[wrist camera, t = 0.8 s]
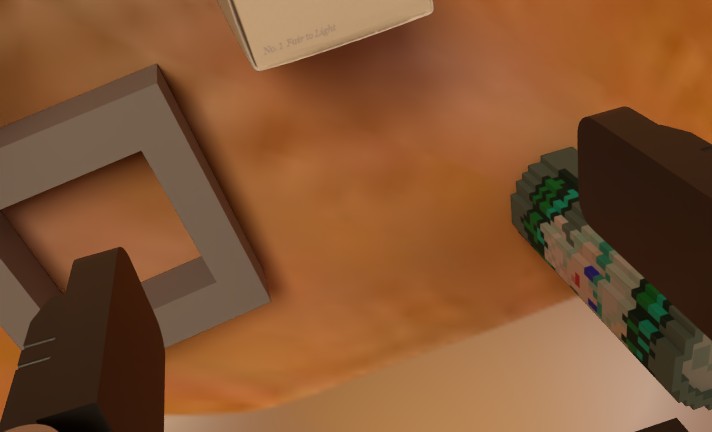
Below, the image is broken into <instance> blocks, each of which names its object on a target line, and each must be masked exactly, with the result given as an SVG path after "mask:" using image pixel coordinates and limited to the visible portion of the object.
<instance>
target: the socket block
mask: <svg viewBox="0 0 712 432" xmlns="http://www.w3.org/2000/svg"><path fill="white" fill-rule="evenodd" d="M139 151H142V153H143V154H144V156H145V158H146V160H147V161H148V163H149V165H150V167H151V168H152V170H153V172H154V174H155V175H156V177H157V179H158V181H159V182H160V184H161V186H162V188H163V189H164V191H165V193H166V195H167V196H168V198H169V200H170V202H171V203H172V205H173V207H174V209H175V210H176V212H177V214H178V216H179V217H180V219H181V221H182V223H183V224H184V226H185V228H186V230H187V231H188V233H189V235H190V237H191V238H192V240H193V242H194V244H195V245H196V247H197V249H198V251H199V252H200V254H201V257H199V258H197V259H194V260H192V261H190V262H187V263H185V264H183V265H180V266H178V267H176V268H174V269H171V270H169V271H167V272H164V273H162V274H160V275H157V276H155V277H153V278H150V279H148V280H146V281H143V282H141V285H142V287H143V289H144V291H145V293H146V296H147V298H148V300H149V302H150V305H151V307H152V309H153V311H154V314H155V316H156V318H157V321H158V323H159V326H160V330H161V333H162V337H163V342H164V348H166V347H169V346H171V345H173V344H176V343H178V342H180V341H182V340H185V339H187V338H189V337H192V336H194V335H196V334H198V333H201V332H203V331H205V330H208V329H210V328H212V327H215V326H217V325H219V324H221V323H224V322H226V321H228V320H231V319H233V318H235V317H237V316H240V315H242V314H244V313H247V312H249V311H251V310H253V309H256V308H258V307H260V306H263V305H265V304H267V303H269V302H271V298H270V295H269V291H268V287H267V283H266V279H265V275H264V271H263V269H262V267H261V265H260V263H259V261H258V259H257V258H256V256H255V254H254V252H253V250H252V248H251V246H250V244H249V242H248V240H247V238H246V236H245V234H244V232H243V230H242V228H241V226H240V224H239V223H238V221H237V219H236V217H235V215H234V213H233V211H232V209H231V207H230V205H229V203H228V201H227V199H226V197H225V195H224V193H223V191H222V190H221V188H220V186H219V184H218V182H217V180H216V178H215V176H214V174H213V172H212V170H211V168H210V166H209V164H208V162H207V160H206V158H205V156H204V155H203V153H202V151H201V149H200V147H199V145H198V143H197V141H196V139H195V137H194V135H193V133H192V131H191V129H190V127H189V125H188V123H187V122H186V120H185V118H184V116H183V114H182V112H181V110H180V108H179V106H178V104H177V102H176V100H175V98H174V96H173V94H172V92H171V90H170V89H169V87H168V85H167V83H166V81H165V79H164V77H163V75H162V73H161V71H160V69H159V67H158V65H157V64H154V65H152V66H149V67H147V68H145V69H142V70H140V71H137V72H135V73H133V74H130V75H128V76H125V77H123V78H120V79H118V80H116V81H113V82H111V83H108V84H106V85H103V86H101V87H99V88H96V89H94V90H91V91H89V92H86V93H84V94H82V95H79V96H77V97H74V98H72V99H69V100H67V101H65V102H62V103H60V104H57V105H55V106H52V107H50V108H48V109H45V110H43V111H40V112H38V113H35V114H33V115H31V116H28V117H26V118H23V119H21V120H18V121H16V122H14V123H11V124H9V125H6V126H4V127H2V128H0V210H1V209H3V208H5V207H8V206H10V205H13V204H15V203H17V202H20V201H22V200H25V199H27V198H29V197H32V196H34V195H36V194H39V193H41V192H44V191H46V190H48V189H51V188H53V187H56V186H58V185H60V184H63V183H65V182H67V181H70V180H72V179H75V178H77V177H79V176H82V175H84V174H87V173H89V172H91V171H94V170H96V169H98V168H101V167H103V166H106V165H108V164H110V163H113V162H115V161H118V160H120V159H122V158H125V157H127V156H129V155H132V154H134V153H137V152H139ZM59 295H62V293H61V291H60V290H59V289H58V287H57V286H56V285H55V283H54V282H53V281H52V279H51V278H50V277H49V275H48V274H47V273H46V271H45V270H44V269H43V267H42V266H41V265H40V263H39V262H38V261H37V259H36V258H35V257H34V255H33V254H32V253H31V251H30V250H29V249H28V247H27V246H26V245H25V243H24V242H23V241H22V239H21V238H20V237H19V235H18V234H17V233H16V231H15V230H14V229H13V227H12V226H11V225H10V223H9V222H8V221H7V219H6V218H5V217H4V215H3V214H2V213H1V211H0V326H1V327H2V328H3V329H4V330H5V331H6V333H7V334H8V335H9V336H10V337H11V339H12V340H13V341H14V342H15V343H16V344H17V346H18V347H19V348H20V349H21V350H24V346H23V345H24V341H25V338H26V335H27V331H28V328H29V325H30V322H31V321H32V319H33V318H34V317H35V316H36V314H37V313H38V312H39V311H40V309H41V308H42V307H43V306H44V304H45V303H46V302H47V301H48V299H49V298H52V297H55V296H59Z"/></svg>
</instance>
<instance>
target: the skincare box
mask: <svg viewBox="0 0 712 432" xmlns="http://www.w3.org/2000/svg"><path fill="white" fill-rule="evenodd" d="M217 2H218V3H219V5H220V7H221V9H222V11H223V13H224V15H225V17H226V20H227V22H228V23H229V25H230V27H231V29H232V31H233V33H234V35H235V37H236V39H237V41H238V43H239V44H240V46H241V48H242V50H243V52H244V54H245V55H246V57H247V59H248V60H249V62H250V64H251V66H252V67H253V69H254V70H256V71H262V70H266V69H270V68H274V67H277V66H280V65H284V64H287V63H291V62H294V61H297V60H300V59H304V58H307V57H310V56H313V55H316V54H319V53H322V52H325V51H329V50H332V49H335V48H338V47H341V46H343V45H346V44H349V43H352V42H355V41H358V40H361V39H363V38H367V37H369V36H372V35H375V34H378V33H381V32H384V31H387V30H389V29H392V28H394V27H397V26H400V25H403V24H406V23H408V22H412V21H414V20H417V19H419V18H422V17H424V16H427V15H430V14H431V13H432V12H433V10H434V6H433V0H217Z"/></svg>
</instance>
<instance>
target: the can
mask: <svg viewBox="0 0 712 432" xmlns="http://www.w3.org/2000/svg"><path fill="white" fill-rule="evenodd" d="M516 188H517V193H515V194H511V211H512V223H513V224H514V225H515V226H516V228H517V229H518V230H519V233H520V234H521V235H522V236H523V237H524V238H525V239H526V240H527V241H528V242H529V243H530V244H531V246H532V247H533V248H534V249H535V250H536V251H537V252H538V253H539V254H540V255H541V256H542V257H543V258H544V259H545V261H546V262H547V263H548V264H549V265H550V266H551V267H552V268H553V269H554V270H555V271H556V272H557V273H558V274H559V276H560V277H561V278H562V279H563V280H564V281H565V282H566V283H567V284H568V285H569V286H570V287H571V288H572V289H573V290H574V292H575V293H576V294H577V295H578V296H579V297H580V298H581V299H582V300H583V301H584V302H585V303H586V304H587V305H588V306H589V308H590V309H591V310H592V311H593V312H594V313H595V314H596V315H597V316H598V317H599V318H600V319H601V320H602V322H603V323H604V324H605V325H606V326H607V327H608V328H609V329H610V330H611V331H612V332H613V333H614V334H615V335H616V336H617V338H618V339H619V340H620V341H621V342H622V343H623V344H624V345H625V346H626V347H627V348H628V349H629V350H630V351H631V353H632V354H633V355H634V356H635V357H636V358H637V359H638V360H639V361H640V362H641V363H642V364H643V365H644V366H645V367H646V368H647V370H648V371H649V372H650V373H651V374H652V375H653V376H654V377H655V378H656V379H657V380H658V381H659V382H660V383H661V384H662V386H663V387H664V388H665V389H666V390H667V391H668V392H669V393H670V394H671V395H672V396H673V397H674V398H675V400H676V401H677V402H678V403H680V402H682V403H683V404H684V405H685V406H690V407H691V408H692V409H693V410H695V409H697V408H700V407H703V406H705V407H706V408H707V409H708V410H711V409H712V341H711V340H710V339H709V338H708V337H707V336H706V335H705V334H704V333H703V332H702V331H701V330H699V329H698V328H697V327H696V326H695V325H694V324H693V323H692V322H691V321H690V320H689V319H688V318H687V317H686V316H684V315H683V314H682V313H681V312H680V311H679V310H678V309H677V308H676V307H675V306H674V305H673V304H672V303H671V302H670V301H668V300H667V299H666V298H665V297H664V296H663V295H662V294H661V293H660V292H659V291H658V290H657V289H656V288H655V287H653V286H652V285H651V284H650V283H649V282H648V281H647V280H646V279H645V278H644V277H643V276H642V275H641V274H640V273H638V272H637V271H636V270H635V269H634V268H633V267H632V266H631V265H630V264H629V263H628V262H627V261H626V260H625V259H623V258H622V257H621V256H620V255H619V254H618V253H617V252H616V251H615V250H614V249H613V248H612V247H611V246H610V245H609V244H607V243H606V242H605V241H604V240H603V239H602V238H601V237H600V236H599V235H598V234H597V233H596V232H595V231H594V230H592V228H591V227H590V226H589V225H588V223H587V222H586V220H585V218H584V216H583V214H582V211H581V208H580V204H579V198H578V151H577V150H576V149H574V148H573V147H569V148H566V149H563V150H559V151H556V152H552V153H549V154H545V155H542V156H541V162H539V163H535V164H532V165H528V172H525V173H522V180H519V181H516Z"/></svg>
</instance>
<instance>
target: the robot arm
mask: <svg viewBox="0 0 712 432" xmlns="http://www.w3.org/2000/svg"><path fill="white" fill-rule="evenodd" d="M578 198H579V204H580V208H581V211H582V214H583V216H584V218H585V220H586V222H587V223H588V225H589V226H590V227H591V228H592V230H594V231H595V232H596V233H597V234H598V235H599V236H600V237H601V238H602V239H603V240H604V241H605V242H606V243H607V244H609V245H610V246H611V247H612V248H613V249H614V250H615V251H616V252H617V253H618V254H619V255H620V256H621V257H622V258H623V259H625V260H626V261H627V262H628V263H629V264H630V265H631V266H632V267H633V268H634V269H635V270H636V271H637V272H638V273H640V274H641V275H642V276H643V277H644V278H645V279H646V280H647V281H648V282H649V283H650V284H651V285H652V286H653V287H655V288H656V289H657V290H658V291H659V292H660V293H661V294H662V295H663V296H664V297H665V298H666V299H667V300H668V301H670V302H671V303H672V304H673V305H674V306H675V307H676V308H677V309H678V310H679V311H680V312H681V313H682V314H683V315H684V316H686V317H687V318H688V319H689V320H690V321H691V322H692V323H693V324H694V325H695V326H696V327H697V328H698V329H699V330H701V331H702V332H703V333H704V334H705V335H706V336H707V337H708V338H709V339H710V340H711V341H712V144H710V143H708V142H706V141H705V140H703V139H701V138H699V137H698V136H696V135H694V134H692V133H690V132H687V131H683V130H679V129H675V128H671V127H668V126H664V125H658V124H656V123H655V122H653V121H651V120H649V119H648V118H646V117H644V116H643V115H641V114H639V113H638V112H636V111H634V110H633V109H631V108H629V107H620V108H616V109H613V110H609V111H606V112H602V113H599V114H595V115H592V116H588V117H585V118H583V119H582V120H581V121H580V123H579V126H578ZM23 346H24V350H22V351H21V355H20V358H19V361H18V370H16V372H15V375H14V378H13V382H12V385H11V388H10V392H9V395H8V398H7V402H6V405H5V408H4V412H3V415H2V419H1V422H0V432H164V390H165V348H164V342H163V337H162V333H161V330H160V326H159V323H158V321H157V318H156V316H155V314H154V311H153V309H152V307H151V305H150V302H149V300H148V298H147V296H146V293H145V291H144V289H143V287H142V285H141V282H140V280H139V278H138V276H137V273H136V271H135V269H134V267H133V264H132V262H131V260H130V258H129V256H128V254H127V252H126V251H125V250H124V249H123V248H122V247H118V248H114V249H111V250H107V251H104V252H100V253H97V254H93V255H90V256H86V257H82V258H79V259H76V260H74V262H73V265H72V269H71V273H70V277H69V282H68V286H67V290H66V294H62V295H59V296H55V297H52V298H49V299H48V301H47V302H46V303H45V304H44V306H43V307H42V308H41V309H40V311H39V312H38V313H37V314H36V316H35V317H34V318H33V319H32V321H31V322H30V325H29V328H28V331H27V335H26V338H25V341H24V345H23ZM636 432H688V430H687V429H686V428H685V427H684V426H683V425H682V424H681V422H680V421H679V420H678V419H677V418H674V419H671V420H669V421H665V422H662V423H660V424H656V425H654V426H651V427H648V428H645V429H642V430H639V431H636Z"/></svg>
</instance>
